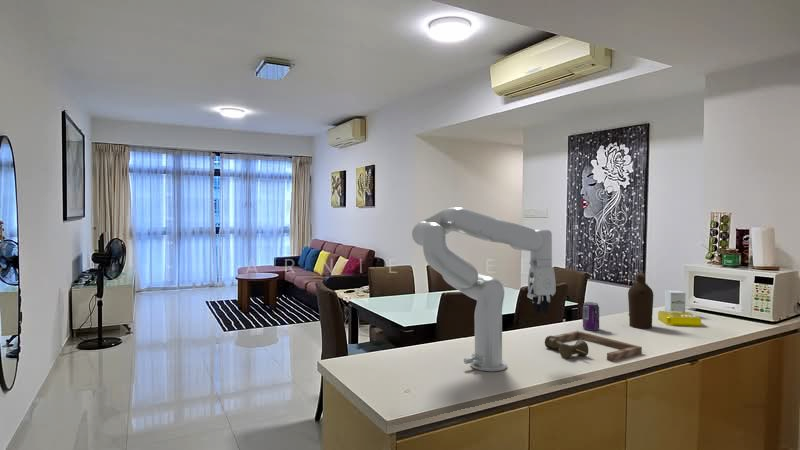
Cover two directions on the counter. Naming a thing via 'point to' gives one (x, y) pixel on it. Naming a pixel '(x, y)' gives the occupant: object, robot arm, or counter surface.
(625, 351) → the walnut bay
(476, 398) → the counter surface
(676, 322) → the element tile
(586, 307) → the beverage can
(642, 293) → the olive oil
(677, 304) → the supplement box
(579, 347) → the kendama
